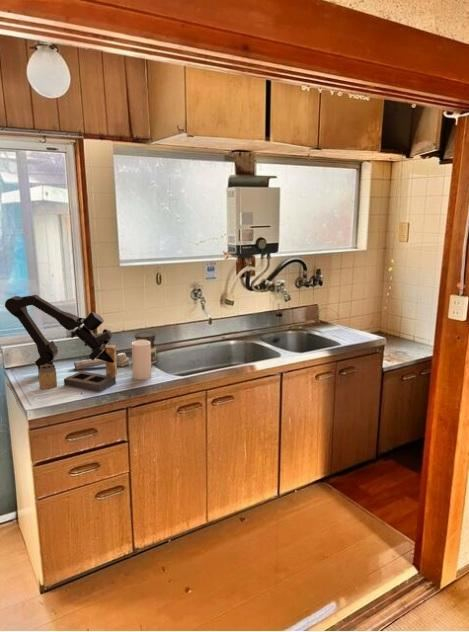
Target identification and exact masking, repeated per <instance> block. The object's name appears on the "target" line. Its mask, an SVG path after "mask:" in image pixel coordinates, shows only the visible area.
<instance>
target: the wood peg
mask: <svg viewBox="0 0 469 632" xmlns="http://www.w3.org/2000/svg"><path fill="white" fill-rule="evenodd" d="M105 348H106V352H107V353H108V355H109V356H110V357H111V358H112V359H113V361H114V362H113V363H110V362H107V361H106V364H105V375H107V376H112V377H117V375H118V366H117V361H116V355H117V345H116V344H110V345H108V344H107V346H106V347H105Z"/></svg>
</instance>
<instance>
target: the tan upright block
mask: <svg viewBox="0 0 469 632" xmlns="http://www.w3.org/2000/svg"><path fill="white" fill-rule="evenodd" d="M53 365H54V364H53ZM53 365H51V364H45V365H40V369H39V370H38V369H37V370H38V372H39V373H38V372H37V373H38V376H39V379H38V383H39V384H38V385H39V387H38V388H39V389H40V390H45V389H48V390H49V389H53V388H56V387H57V386H58V381H57V369H56V367H55V368H54V367H53ZM48 366H51V368H48ZM43 367H46V368H44V369H42V368H43Z"/></svg>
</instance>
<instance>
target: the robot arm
mask: <svg viewBox="0 0 469 632" xmlns="http://www.w3.org/2000/svg"><path fill="white" fill-rule="evenodd" d="M28 306H29V307H30V306H33V307H35V308H37V309H38V310H40V311H41V312H43V313H45V314H47V315H48V316H50V317H51V318H53V319H55V320H56V321H57V322H58V323H59V325H60V326H62V327H63V328H64V329H65V330H66V331H70V334H71V335H70V338H71V339H73V338H75V336H76V337H77V338H78V339H80V340H81V342H82V343H84V346H85V347H88V348H89V349H91V352H90V354H89V357H88V358H89V359H91V360H94V359H95V358H96V359H100V360H103V361H107V362H110V363H113V362H114V361H113V359H112V358H111V357H110V356H109V355H108V353H107V352H106V348H105V347H106V346H107V345H111V343H110V341H111V339H112V337H113V334H112V331H111V330H109V329H108V328H104V329H103V330H102V333H100V334H98V333H93V332H94V331H96V330H97V329H98V328H100V326H101V325H102V324H103V323H104V322H105V321H104V318H103V317H102V316H101V315H100V314H98V313H96V312H94V311H91V312H90V313H89V314H88V315H87V316H86V317H79V316H77V315H75V314H73V313H71V312H67V311H64V310H62V309H60V308H58V307H57V306H55V305H53V304H51V303H50V302H48V301H46V300H45V299H43V298H42V297H40V296H39V294H32V295H25V296H18V295H14V296H12V297H10V298H8V299H6V301H5V302H4V307H5V309H6V310H7V311H8V312H9V313H10V315H12V316H14V317H15V318H16V319H18V321H19V322H20V324H21V326H23V327H24V329H25V331H26V333H27V334H28V335H29V336H30V338H31V340H32V341H33V342H34V344H35V346H36V348H37V353H38V356H39V357H38V359H36V361H34V363H35V365H36V366H37V370H39V369H40V365H45V364H51V365H53V367H54V368H56V366H55V364H54V360H55V358H56V357H57V356H58V353H59V351H58V346H57V345H56V343H55V341H53V340H51V341H49V340H47V339H46V338H45V336H44V335H43V333H42V332H41V330H40V328H39V327H38V326H37V324H36V322H35V321H34V320H33V318H32V317H31V316H30V314H29V313H28ZM83 324H84V325H83ZM44 368H46V367H43V368H42V369H44ZM48 368H51V366H48ZM37 373H39V372H37ZM37 379H38V380H39V375H38V378H37Z"/></svg>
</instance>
